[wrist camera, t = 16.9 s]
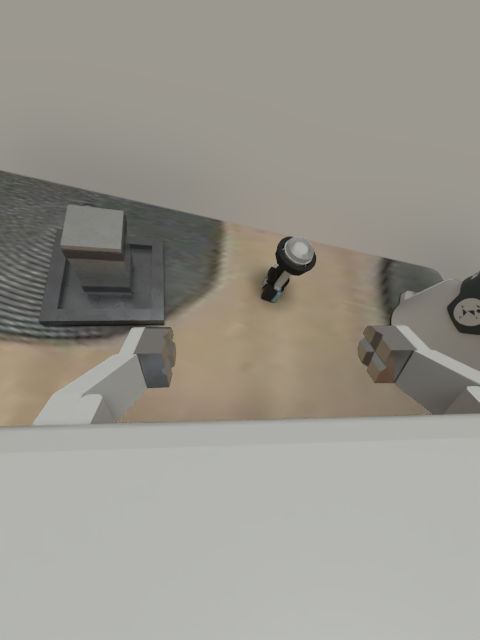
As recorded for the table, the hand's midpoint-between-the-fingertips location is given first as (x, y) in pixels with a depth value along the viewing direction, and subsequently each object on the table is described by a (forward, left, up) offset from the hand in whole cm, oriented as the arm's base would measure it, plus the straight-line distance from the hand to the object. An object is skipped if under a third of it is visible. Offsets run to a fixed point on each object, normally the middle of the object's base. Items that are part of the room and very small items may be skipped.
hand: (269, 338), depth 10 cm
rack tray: (+11, -16, -22) cm, 29 cm away
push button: (-12, -16, -22) cm, 30 cm away
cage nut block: (+11, -16, -21) cm, 29 cm away
